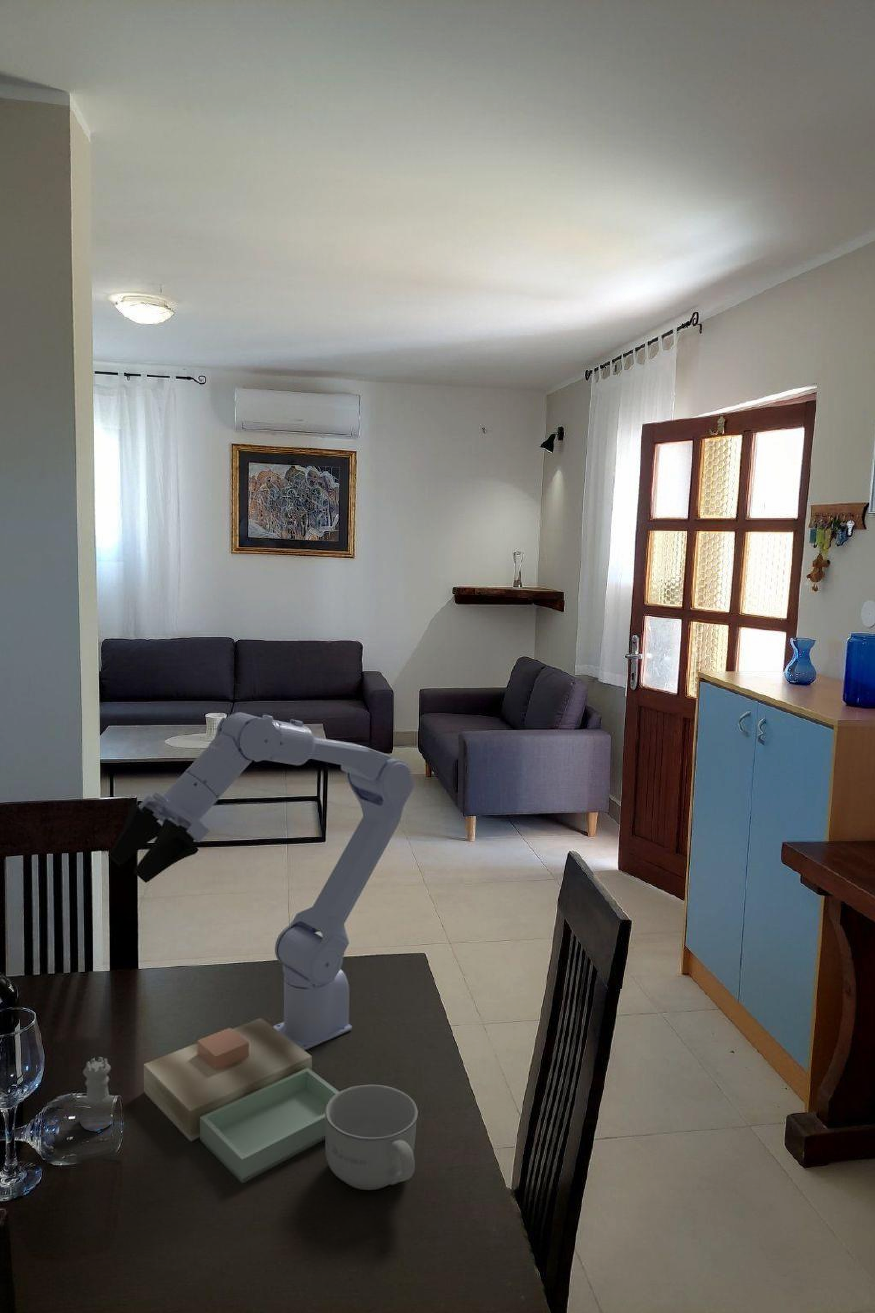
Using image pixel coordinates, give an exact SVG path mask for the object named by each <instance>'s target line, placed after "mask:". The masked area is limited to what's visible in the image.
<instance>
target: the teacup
mask: <svg viewBox="0 0 875 1313" xmlns="http://www.w3.org/2000/svg"><path fill="white" fill-rule="evenodd" d="M325 1116H326V1131H325V1140H324V1142H325V1146H324V1147H325V1148H324V1149H325V1157H326V1161H327V1164H328V1167H329V1168H330V1170H331V1171H332V1172H333V1174H334V1175H335V1176H336V1177H337V1178H339V1180H341V1181H343V1182H345V1184H347V1185H349V1186H350V1187H352V1188H354V1189H355V1188H356V1189H359V1190H365V1191H366V1190H367V1191H371V1190H372V1191H373V1190H379V1189H382V1188H385V1187H387V1186H389V1185H395V1184H398V1183H400V1182H405V1181H408V1180H410V1178H411V1177H413V1174H414V1173H415V1172H414V1171H415V1169H416V1165H415V1156H414V1150H415V1142H416V1131H417V1129H416V1128H417V1120H418V1117H419V1112H418V1107H417V1105H416V1103H415V1101H414V1100H413V1098H411V1097H410V1095H408V1094H406V1092H403V1091H402V1090H399V1089H397V1088H395V1087H391V1086H388V1085H382V1084H365V1085H364V1084H361V1085H355V1086H350V1087H349V1088H345V1089H343V1090H340V1091H339V1093H337V1094H336V1095H334V1096H333V1097H332V1098H331V1099H330V1101H329V1102H328V1104H327V1106H326V1110H325Z"/></svg>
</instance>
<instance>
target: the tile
mask: <svg viewBox="0 0 875 1313" xmlns="http://www.w3.org/2000/svg"><path fill="white" fill-rule="evenodd" d="M233 1029H234V1028H231V1027H228V1028H225V1029H222V1030H220V1031H218V1032H215V1033H212V1034H209V1035H208V1036H206V1037H202V1038H200V1039H197V1040H196V1041H197V1042H196V1043H197V1054H198V1055H199V1056H200V1057H201V1058H202V1059H203V1060H204V1061H206V1062H207V1063H208V1064H209V1065H210V1066H211V1067H212V1068H213V1069H214V1070H218V1069H221V1068H223V1067H226V1066H228V1065H230V1064H233V1063H235V1062H237V1061H240V1060H242V1059H244V1058H247V1057H249V1042H247V1041H246V1040H245V1039H244V1038H242V1037H241V1036H240V1035H239V1034H237V1033H236V1032H235V1031H234V1030H233Z"/></svg>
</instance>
